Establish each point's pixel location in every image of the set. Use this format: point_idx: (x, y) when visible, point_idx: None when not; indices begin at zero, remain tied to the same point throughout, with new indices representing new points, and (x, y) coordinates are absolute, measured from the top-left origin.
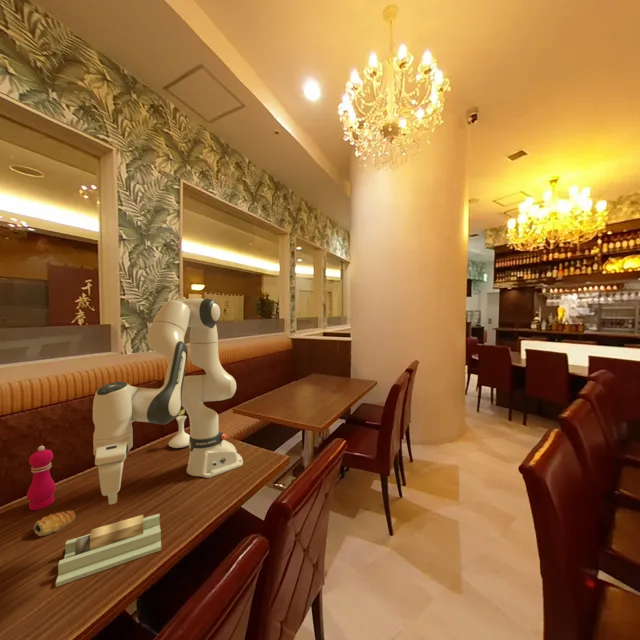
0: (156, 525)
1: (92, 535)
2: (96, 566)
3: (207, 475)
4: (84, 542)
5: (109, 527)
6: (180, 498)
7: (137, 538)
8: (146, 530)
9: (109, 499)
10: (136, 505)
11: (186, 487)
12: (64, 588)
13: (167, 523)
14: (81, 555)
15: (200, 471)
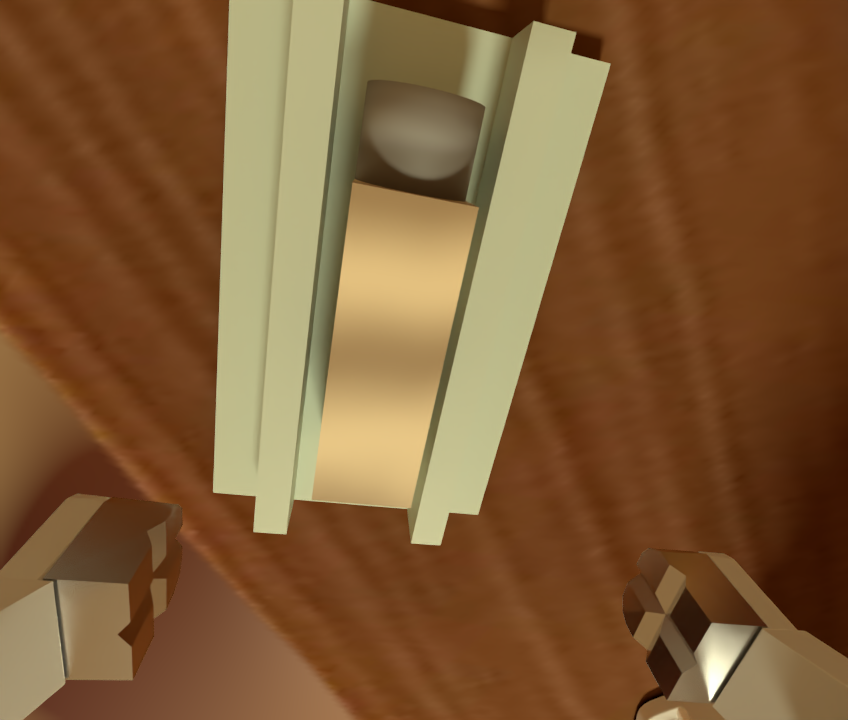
0: None
1: (388, 205)
2: (246, 203)
3: (650, 717)
4: (381, 146)
5: (411, 319)
6: (579, 596)
7: (270, 430)
8: None
9: (19, 563)
10: (704, 431)
11: None
12: (194, 24)
13: None
14: (305, 122)
15: (701, 712)
